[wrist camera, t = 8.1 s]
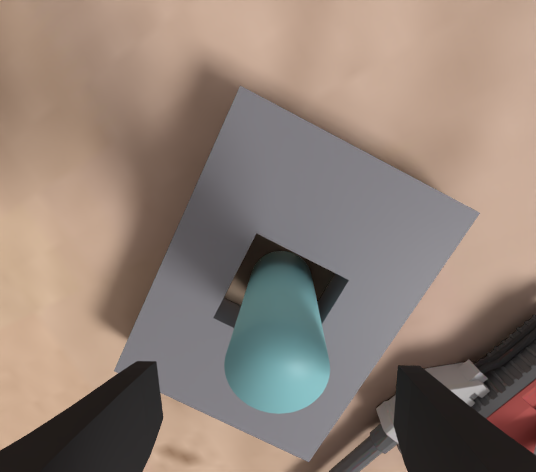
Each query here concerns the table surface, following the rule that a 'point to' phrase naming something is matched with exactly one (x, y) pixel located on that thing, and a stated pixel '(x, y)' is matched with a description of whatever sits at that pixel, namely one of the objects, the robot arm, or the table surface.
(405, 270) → the socket board
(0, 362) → the table surface
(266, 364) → the peg
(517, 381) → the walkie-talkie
